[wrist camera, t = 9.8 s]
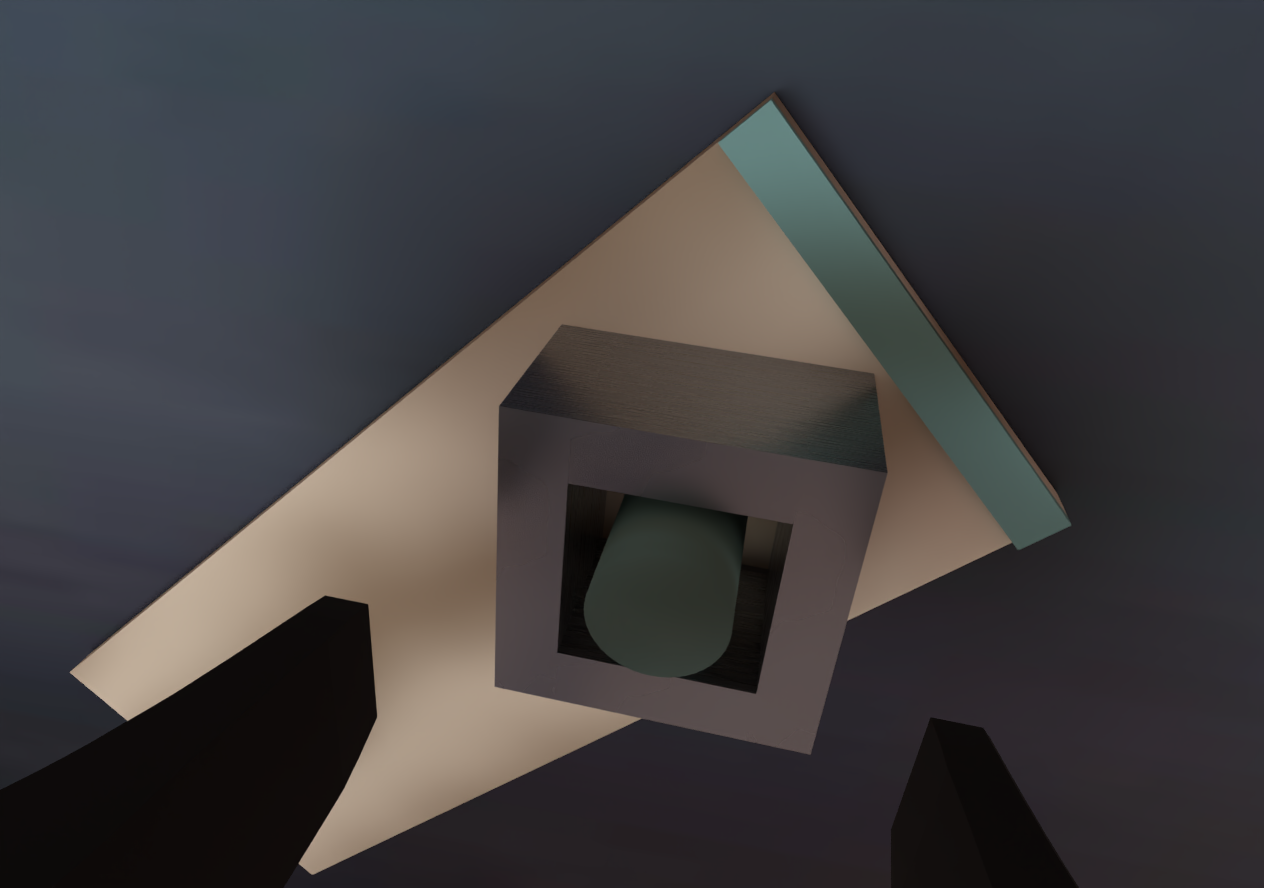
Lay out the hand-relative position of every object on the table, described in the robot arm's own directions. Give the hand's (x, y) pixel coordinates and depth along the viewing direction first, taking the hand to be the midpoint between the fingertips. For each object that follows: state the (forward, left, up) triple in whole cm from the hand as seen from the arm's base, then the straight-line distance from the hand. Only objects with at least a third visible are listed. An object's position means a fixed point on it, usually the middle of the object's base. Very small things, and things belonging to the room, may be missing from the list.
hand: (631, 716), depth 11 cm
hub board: (0, +6, -7) cm, 10 cm away
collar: (0, 0, -6) cm, 6 cm away
